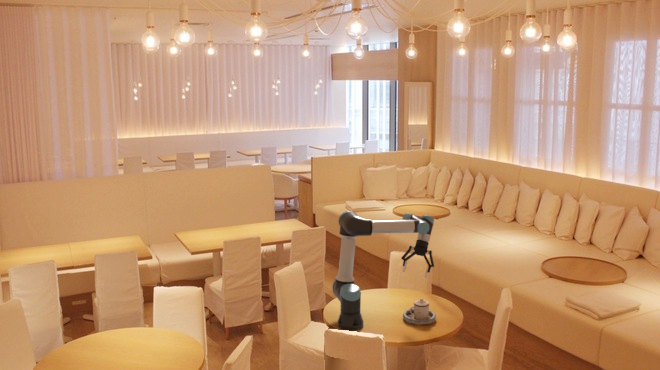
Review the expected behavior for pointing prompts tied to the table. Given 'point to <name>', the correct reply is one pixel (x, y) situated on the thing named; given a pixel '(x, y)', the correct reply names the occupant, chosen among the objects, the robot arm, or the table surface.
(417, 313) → the teacup with lid
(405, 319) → the round grey tray
